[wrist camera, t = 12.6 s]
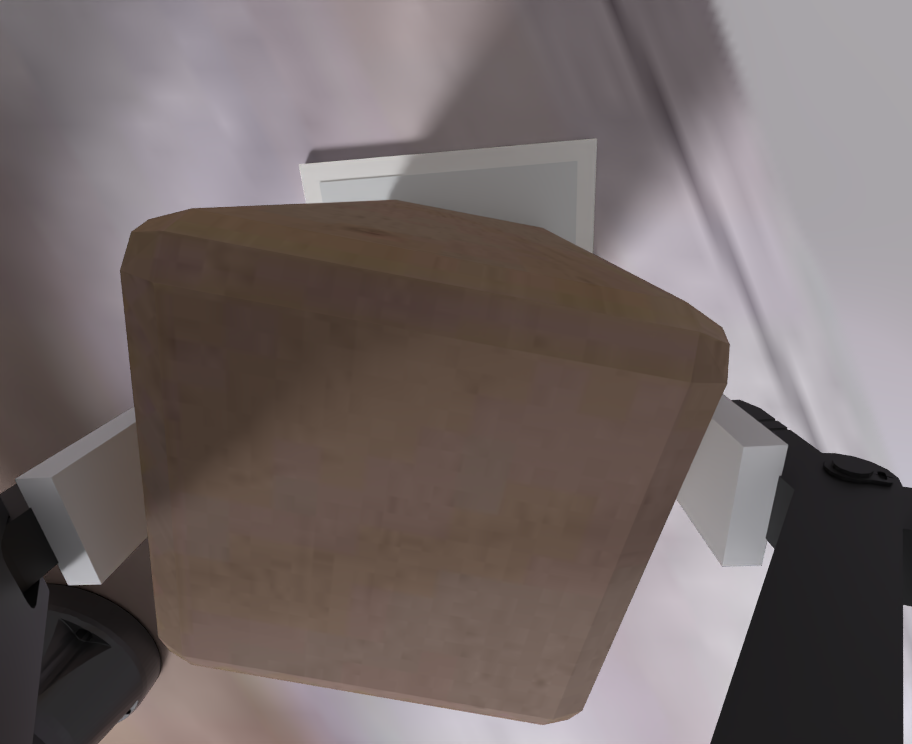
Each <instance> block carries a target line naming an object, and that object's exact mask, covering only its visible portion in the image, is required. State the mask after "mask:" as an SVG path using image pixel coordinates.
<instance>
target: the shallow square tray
mask: <svg viewBox="0 0 912 744" xmlns="http://www.w3.org/2000/svg"><path fill="white" fill-rule="evenodd" d="M596 156H597V138H593V139H582V140H570V141H559V142H548V143H536V144H525V145H514V146H502V147H491V148H479V149H468V150H457V151H445V152H434V153H422V154H411V155H400V156H388V157H377V158H365V159H354V160H343V161H331V162H320V163H309V164H299V169H300V174H301V180H302V185H303V191H304V196H305V201H306V204H307V203H329V202H352V201H375V200H400V201H405V202H410V203H416V204H421V205H426V206H431V207H437V208H442V209H447V210H452V211H458V212H463V213H468V214H473V215H478V216H484V217H489V218H494V219H499V220H505V221H510V222H515V223H520V224H526V225H531V226H536V227H541V228H544V229H546V230H548V231H550V232H552V233H554V234H556V235H558V236H560V237H561V238H563V239H565V240H567V241H569V242H571V243H573V244H575V245H577V246H579V247H581V248H583V249H585V250H587V251H589V252H591V253H592V254H593V239H594V211H595V184H596Z"/></svg>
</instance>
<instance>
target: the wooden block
mask: <svg viewBox="0 0 912 744" xmlns="http://www.w3.org/2000/svg"><path fill="white" fill-rule="evenodd" d="M120 274H121V284H122V294H123V303H124V313H125V322H126V332H127V342H128V351H129V361H130V370H131V380H132V390H133V399H134V409H135V418H136V428H137V438H138V447H139V457H140V466H141V476H142V486H143V495H144V505H145V514H146V524H147V534H148V543H149V553H150V562H151V572H152V582H153V591H154V601H155V610H156V620H157V630H158V638H159V639H160V640H161V641H162V642H163V643H164V645H165V646H166V647H167V648H168V649H169V650H170V651H171V652H173V653H174V654H176V655H177V656H179V657H181V658H182V659H184V660H185V661H187V662H189V663H190V664H192V665H197V666H203V667H208V668H214V669H220V670H226V671H232V672H238V673H243V674H249V675H255V676H261V677H267V678H272V679H278V680H284V681H290V682H296V683H302V684H307V685H313V686H319V687H325V688H331V689H336V690H342V691H348V692H354V693H360V694H366V695H371V696H377V697H383V698H389V699H395V700H400V701H406V702H412V703H418V704H424V705H430V706H435V707H441V708H447V709H453V710H459V711H465V712H470V713H476V714H482V715H488V716H494V717H499V718H505V719H511V720H517V721H523V722H529V723H534V724H540V725H545V724H550V723H554V722H559V721H563V720H568V719H570V718H571V717H573V716H574V715H576V714H578V713H579V712H581V711H582V710H583V708H584V705H585V703H586V701H587V699H588V696H589V694H590V692H591V690H592V687H593V685H594V683H595V681H596V678H597V676H598V674H599V672H600V669H601V667H602V665H603V663H604V660H605V658H606V656H607V653H608V651H609V649H610V647H611V644H612V642H613V640H614V638H615V635H616V633H617V631H618V629H619V626H620V624H621V622H622V620H623V617H624V615H625V613H626V611H627V608H628V606H629V604H630V602H631V599H632V597H633V595H634V593H635V590H636V588H637V586H638V584H639V581H640V579H641V577H642V575H643V572H644V570H645V568H646V566H647V563H648V561H649V559H650V556H651V554H652V552H653V550H654V547H655V545H656V543H657V541H658V538H659V536H660V534H661V532H662V529H663V527H664V525H665V523H666V520H667V518H668V516H669V514H670V511H671V509H672V507H673V505H674V502H675V500H676V498H677V496H678V493H679V491H680V489H681V487H682V484H683V482H684V480H685V478H686V475H687V473H688V471H689V468H690V466H691V464H692V462H693V459H694V457H695V455H696V453H697V450H698V448H699V446H700V444H701V441H702V439H703V437H704V435H705V432H706V430H707V428H708V426H709V423H710V421H711V419H712V417H713V414H714V412H715V410H716V408H717V405H718V403H719V401H720V399H721V396H722V394H723V392H724V390H725V387H726V385H727V378H728V362H729V347H730V344H729V342H728V340H727V337H726V335H725V333H724V330H723V328H722V327H721V326H719V325H718V324H717V323H715V322H714V321H712V320H711V319H710V318H708V317H707V316H705V315H704V314H703V313H701V312H700V311H698V310H697V309H696V308H694V307H693V306H691V305H690V304H689V303H687V302H685V301H683V300H682V299H680V298H678V297H676V296H674V295H672V294H670V293H668V292H666V291H664V290H662V289H660V288H658V287H656V286H654V285H652V284H651V283H649V282H647V281H645V280H643V279H641V278H639V277H637V276H635V275H633V274H631V273H629V272H627V271H625V270H623V269H621V268H620V267H618V266H616V265H614V264H612V263H610V262H608V261H606V260H604V259H602V258H600V257H598V256H596V255H594V254H592V253H591V252H589V251H587V250H585V249H583V248H581V247H579V246H577V245H575V244H573V243H571V242H569V241H567V240H565V239H563V238H561V237H560V236H558V235H556V234H554V233H552V232H550V231H548V230H546V229H544V228H541V227H536V226H531V225H526V224H520V223H515V222H510V221H505V220H499V219H494V218H489V217H484V216H478V215H473V214H468V213H463V212H458V211H452V210H447V209H442V208H437V207H431V206H426V205H421V204H416V203H410V202H405V201H400V200H375V201H352V202H329V203H307V204H284V205H261V206H238V207H215V208H192V209H188V210H184V211H180V212H176V213H172V214H168V215H164V216H160V217H156V218H152V219H149V220H147V221H146V222H144V223H143V224H142V225H140V226H139V227H138V228H136V229H135V230H133V231H132V232H131V235H130V238H129V242H128V245H127V248H126V252H125V255H124V259H123V262H122V266H121V269H120Z"/></svg>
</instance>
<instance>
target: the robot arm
mask: <svg viewBox="0 0 912 744" xmlns="http://www.w3.org/2000/svg"><path fill="white" fill-rule="evenodd" d="M15 481H16V483H17V484H15V485H14V486H12V487H11V488H9V489H7V490H6V491H4V492H3V493H1V494H0V744H98V743H99V742H100V741H101V740H102V739H103V738H104V737H105V736H106V734H107V733H108V732H109V731H110V730H111V729H112V728H113V727H114V726H115V725H116V724H117V723H118V722H120V721H122V720H124V719H125V718H127V717H128V716H129V715H130V714H131V713H132V712H133V711H134V710H135V709H136V708H137V707H138V706H139V705H140V704H141V702H142V701H143V699H144V698H145V696H146V695H147V693H148V692H149V690H150V689H151V687H152V686H153V685H154V683H155V682H156V680H157V678H158V676H159V672H160V665H161V663H160V655H159V652H158V649H157V647H156V644H155V642H154V641H153V639H152V637H151V636H150V634H149V633H148V632H147V631H146V629H145V628H144V627H143V626H142V625H141V624H140V623H139V622H138V621H137V620H136V619H135V618H134V617H133V616H131V615H130V614H129V613H128V612H126V611H125V610H123V609H122V608H120V607H119V606H117V605H116V604H114V603H112V602H110V601H109V600H107V599H105V598H103V597H100V596H98V595H96V594H93V593H91V592H88V591H85V590H81V589H78V588H74V587H69V586H64V585H54V584H46V582H45V580H44V578H43V576H44V575H45V574H46V573H47V572H48V571H49V570H51V569H52V568H53V567H54V566H55V565H56V564H58V566H59V568H60V570H61V572H62V574H63V576H64V578H65V580H66V582H67V584H68V585H97V584H102V583H103V582H104V581H105V580H106V579H107V578H108V577H109V576H110V575H111V574H112V573H113V572H114V571H115V570H116V569H117V568H118V567H119V566H120V565H121V564H122V563H123V562H124V561H125V559H126V558H127V557H128V556H129V555H130V554H131V553H132V552H133V551H134V550H135V549H136V548H137V547H138V546H139V545H140V544H141V543H142V542H143V541H144V540H145V539H146V538H147V537H148V534H147V524H146V514H145V505H144V495H143V486H142V476H141V466H140V457H139V447H138V438H137V428H136V418H135V409H134V407H132V408H131V409H129V410H127V411H126V412H124V413H122V414H121V415H119V416H117V417H116V418H114V419H112V420H111V421H109V422H108V423H106V424H104V425H103V426H101V427H99V428H98V429H96V430H94V431H93V432H91V433H89V434H88V435H86V436H85V437H83V438H81V439H80V440H78V441H76V442H75V443H73V444H71V445H70V446H68V447H66V448H65V449H63V450H62V451H60V452H58V453H57V454H55V455H53V456H52V457H50V458H48V459H47V460H45V461H43V462H42V463H40V464H39V465H37V466H35V467H34V468H32V469H30V470H29V471H27V472H25V473H24V474H22V475H20V476H19V477H17V478H16V479H15ZM676 499H677V501H678V502H679V504H680V505H681V507H682V508H683V510H684V511H685V513H686V514H687V516H688V517H689V519H690V520H691V522H692V523H693V524H694V526H695V527H696V529H697V530H698V532H699V533H700V535H701V536H702V538H703V539H704V541H705V542H706V544H707V545H708V547H709V548H710V550H711V551H712V552H713V554H714V555H715V557H716V558H717V560H718V561H719V563H720V564H721V566H722V567H730V566H762V562H763V558H764V553H765V549H766V544H767V541H768V542H769V543H770V544H771V545H772V546H773V548H774V549H775V550H774V553H773V556H772V559H771V562H770V565H769V568H768V571H767V574H766V577H765V580H764V583H763V586H762V589H761V592H760V595H759V598H758V601H757V604H756V607H755V610H754V613H753V616H752V619H751V622H750V625H749V628H748V631H747V634H746V638H745V641H744V644H743V647H742V650H741V653H740V656H739V659H738V662H737V665H736V668H735V671H734V674H733V677H732V680H731V683H730V686H729V689H728V692H727V695H726V698H725V701H724V704H723V707H722V710H721V713H720V716H719V719H718V722H717V725H716V728H715V731H714V734H713V737H712V740H711V743H710V744H903V605H907V606H912V488H908V487H903V486H902V484H901V482H900V480H899V478H898V477H896V476H895V475H894V474H893V473H891V472H890V471H889V470H887V469H885V468H883V467H881V466H879V465H877V464H875V463H872V462H870V461H867V460H863V459H860V458H857V457H854V456H848V455H842V454H836V453H821V452H820V451H819V450H817V449H816V448H814V447H813V446H812V445H810V444H809V443H808V442H806V441H805V440H803V439H802V438H801V437H799V436H798V435H797V434H795V433H794V432H792V431H791V430H787V427H786V426H784V425H783V424H781V423H780V422H779V421H775V419H774V418H773V417H772V416H770V415H769V414H768V413H766V412H765V411H763V410H762V409H761V408H758V407H756V406H754V405H751V404H749V403H746V402H744V401H741V400H730V399H729V398H727V397H726V396H725V395H724V394H722V396H721V399H720V401H719V403H718V405H717V408H716V410H715V412H714V414H713V417H712V419H711V421H710V423H709V426H708V428H707V430H706V432H705V435H704V437H703V439H702V441H701V444H700V446H699V448H698V450H697V453H696V455H695V457H694V459H693V462H692V464H691V466H690V468H689V471H688V473H687V475H686V478H685V480H684V482H683V484H682V487H681V489H680V491H679V493H678V496H677V498H676Z"/></svg>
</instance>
